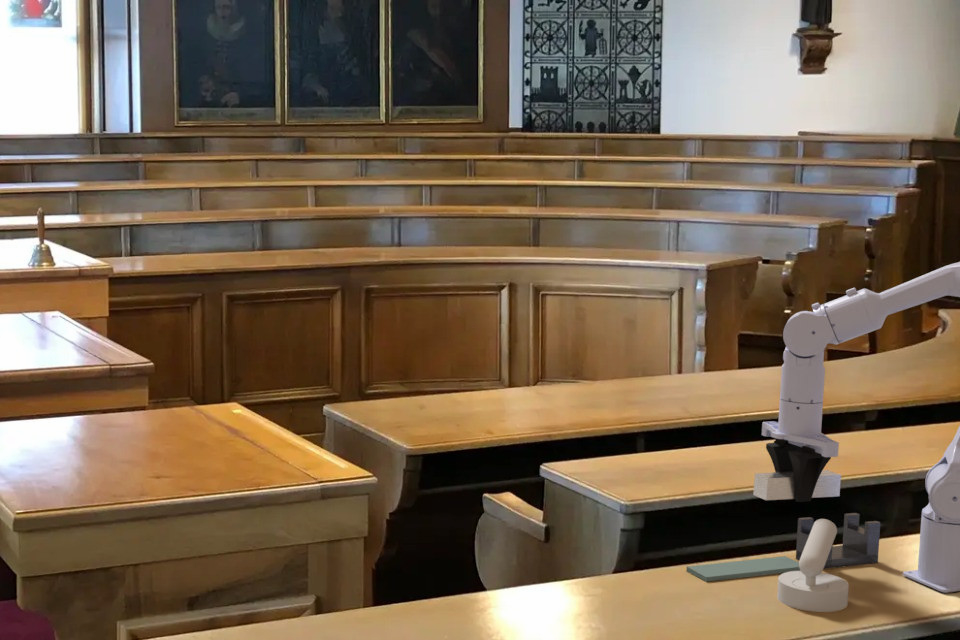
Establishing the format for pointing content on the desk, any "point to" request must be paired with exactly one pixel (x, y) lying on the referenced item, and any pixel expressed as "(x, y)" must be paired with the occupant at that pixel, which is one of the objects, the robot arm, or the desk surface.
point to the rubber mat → (744, 568)
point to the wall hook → (814, 575)
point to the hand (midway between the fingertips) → (795, 497)
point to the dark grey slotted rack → (846, 542)
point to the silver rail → (783, 485)
